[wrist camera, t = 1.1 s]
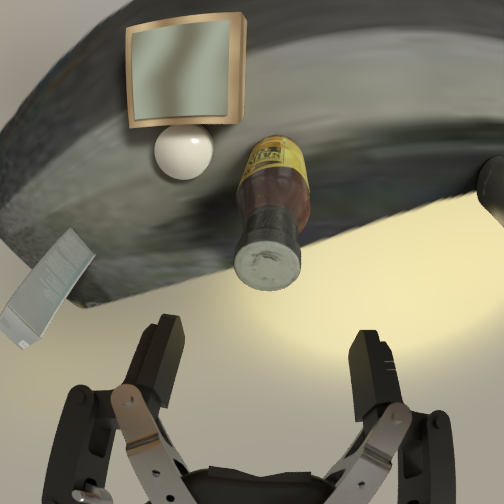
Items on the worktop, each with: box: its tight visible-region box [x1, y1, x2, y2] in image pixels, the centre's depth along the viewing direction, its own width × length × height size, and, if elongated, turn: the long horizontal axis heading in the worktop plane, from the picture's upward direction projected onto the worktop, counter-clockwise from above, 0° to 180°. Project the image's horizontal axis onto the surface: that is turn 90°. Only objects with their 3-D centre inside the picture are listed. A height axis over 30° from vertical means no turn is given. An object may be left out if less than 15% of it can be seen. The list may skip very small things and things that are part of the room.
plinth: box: [126, 12, 247, 128], centre depth 23 cm, size 12×12×5 cm
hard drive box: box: [0, 228, 95, 350], centre depth 37 cm, size 16×8×20 cm, turn 122°
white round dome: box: [155, 124, 214, 180], centre depth 31 cm, size 7×7×2 cm
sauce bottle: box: [233, 135, 310, 291], centre depth 24 cm, size 6×6×20 cm
